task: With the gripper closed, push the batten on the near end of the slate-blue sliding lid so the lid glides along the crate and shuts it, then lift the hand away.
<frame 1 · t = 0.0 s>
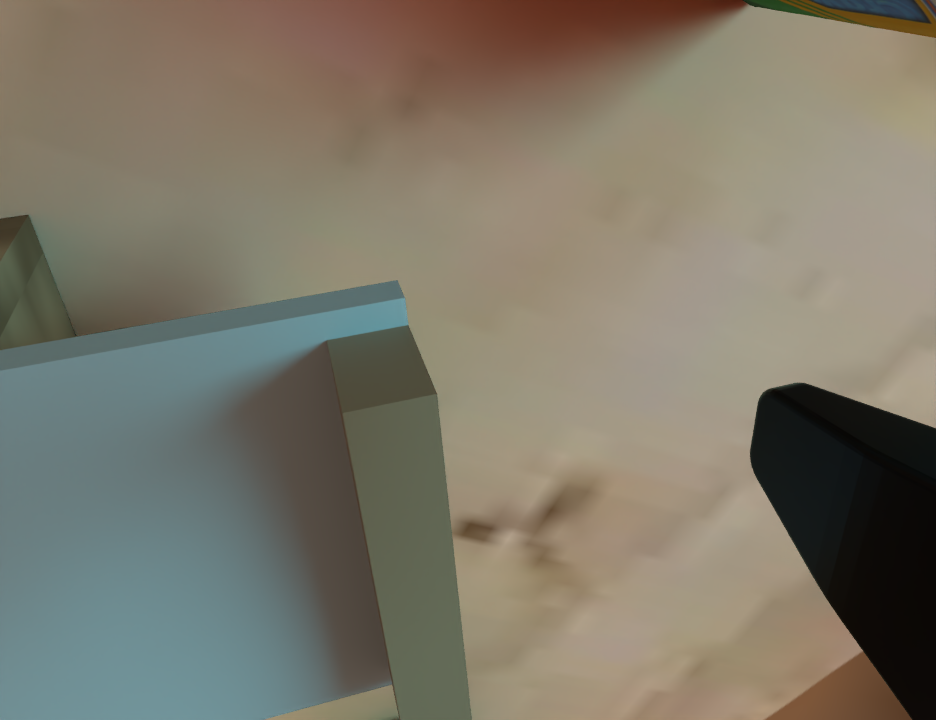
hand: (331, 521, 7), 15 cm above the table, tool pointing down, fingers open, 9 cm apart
lid: (106, 620, 16), point 8 cm above the table, slide at 8.0 cm
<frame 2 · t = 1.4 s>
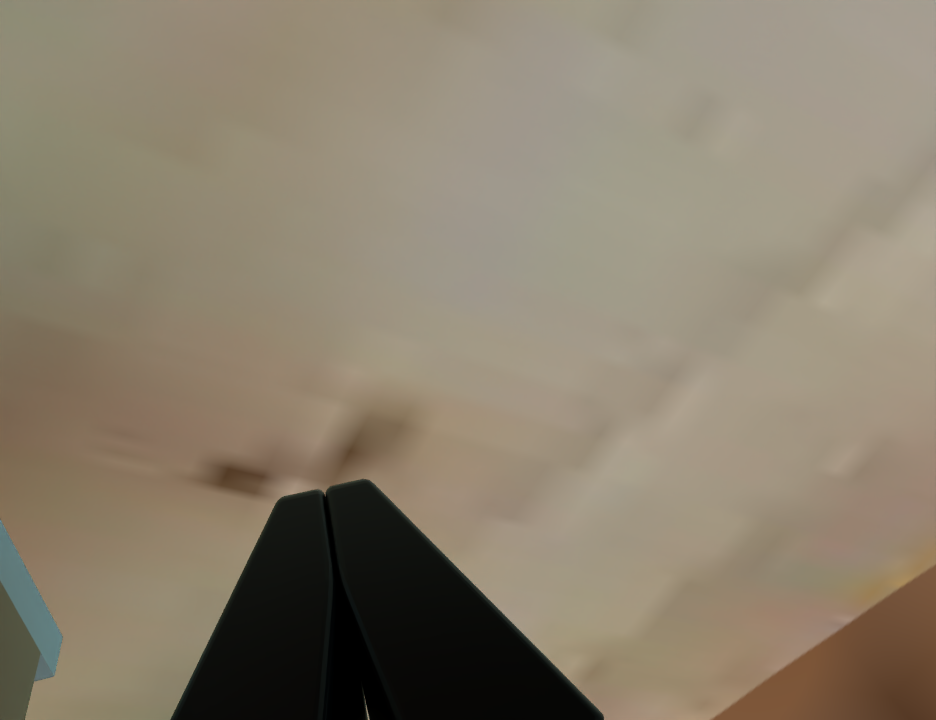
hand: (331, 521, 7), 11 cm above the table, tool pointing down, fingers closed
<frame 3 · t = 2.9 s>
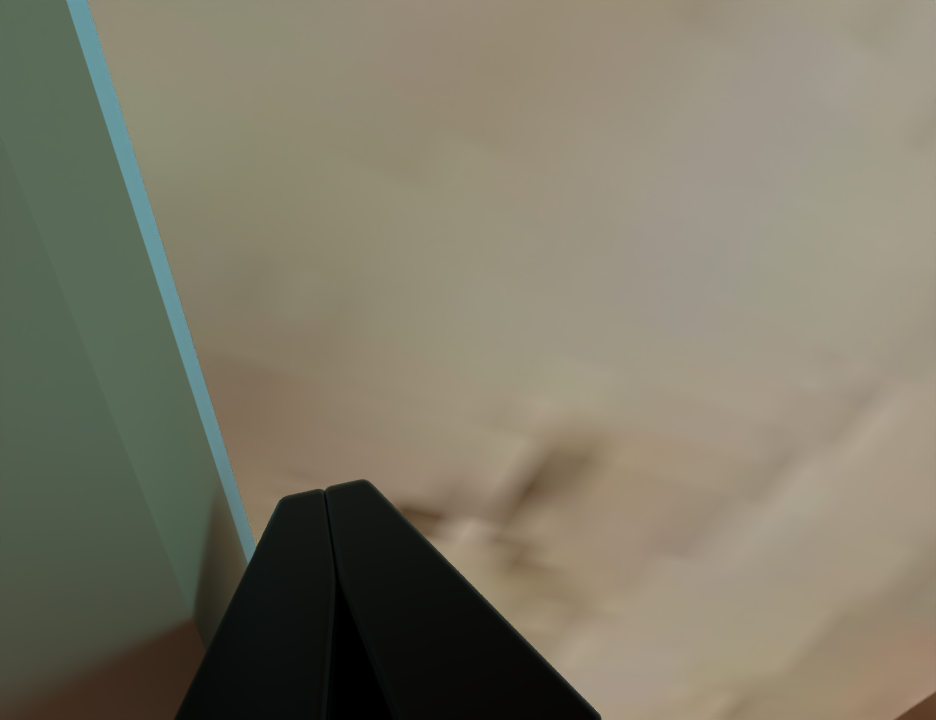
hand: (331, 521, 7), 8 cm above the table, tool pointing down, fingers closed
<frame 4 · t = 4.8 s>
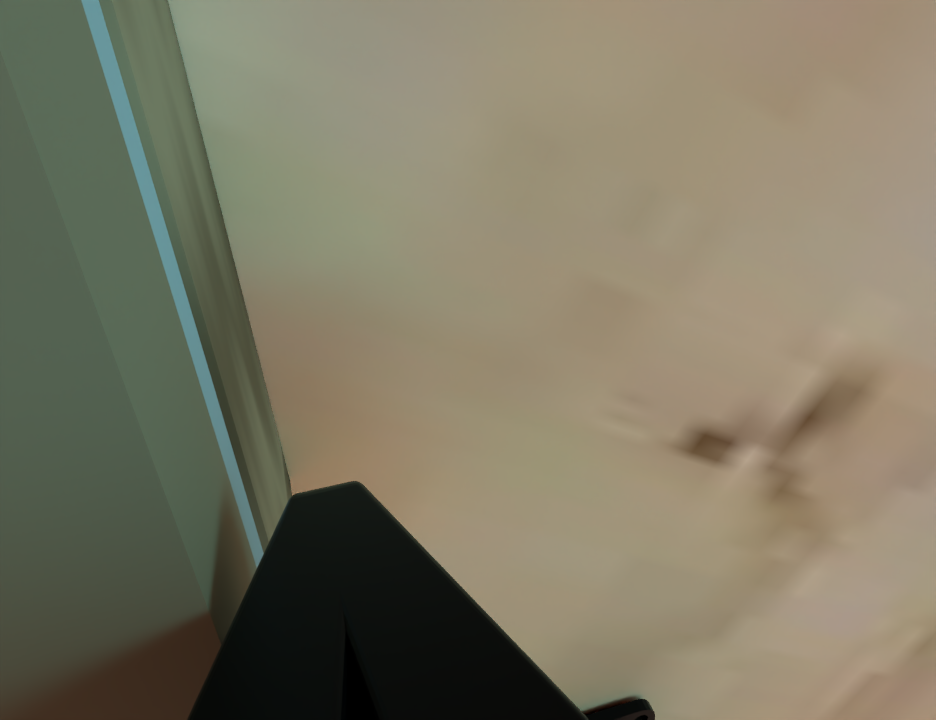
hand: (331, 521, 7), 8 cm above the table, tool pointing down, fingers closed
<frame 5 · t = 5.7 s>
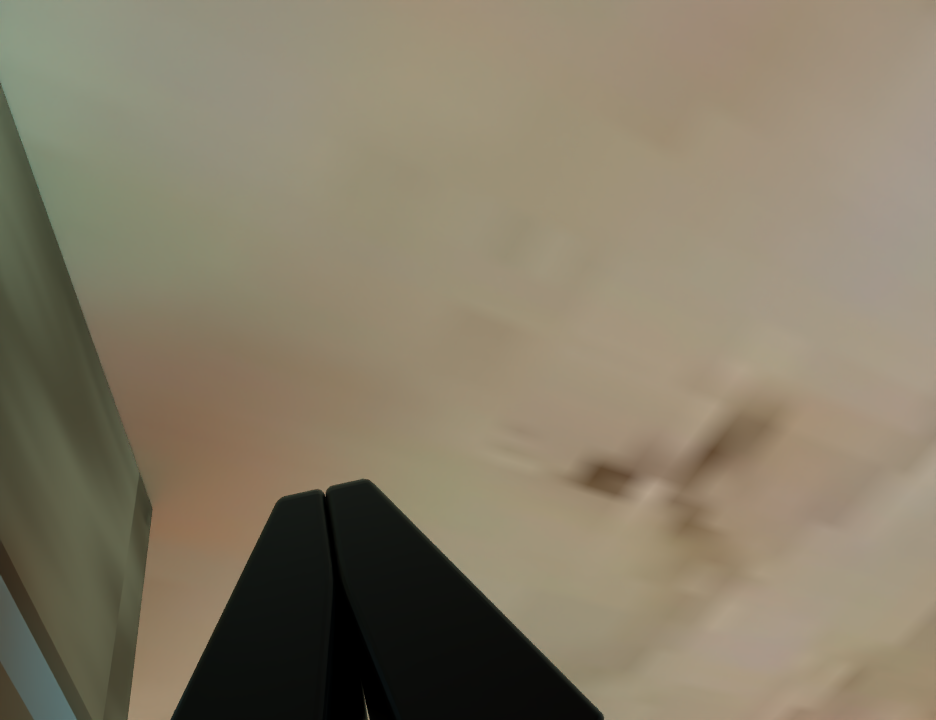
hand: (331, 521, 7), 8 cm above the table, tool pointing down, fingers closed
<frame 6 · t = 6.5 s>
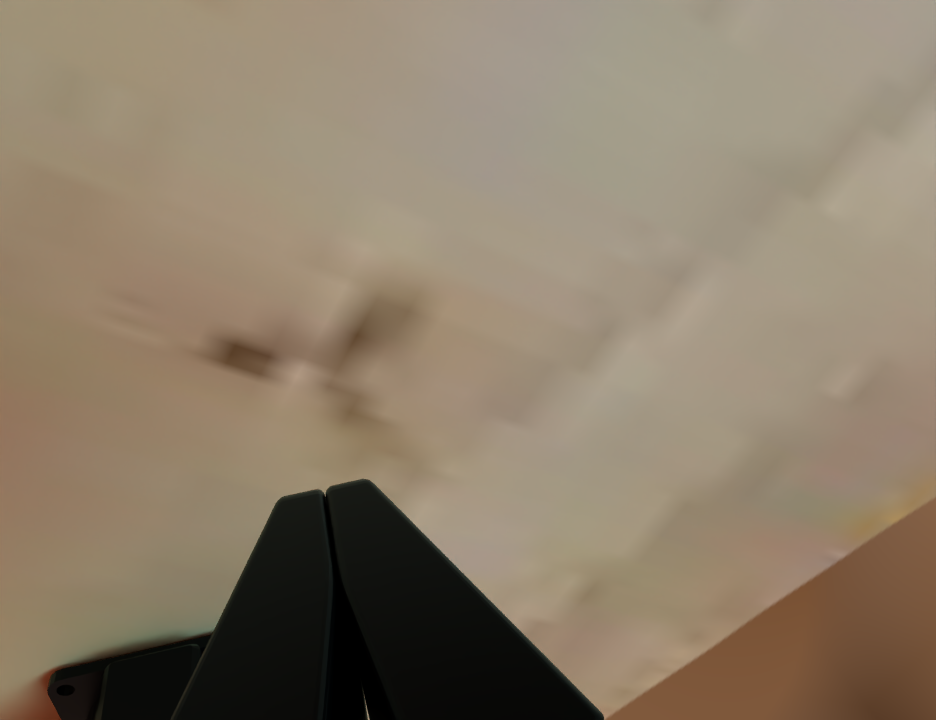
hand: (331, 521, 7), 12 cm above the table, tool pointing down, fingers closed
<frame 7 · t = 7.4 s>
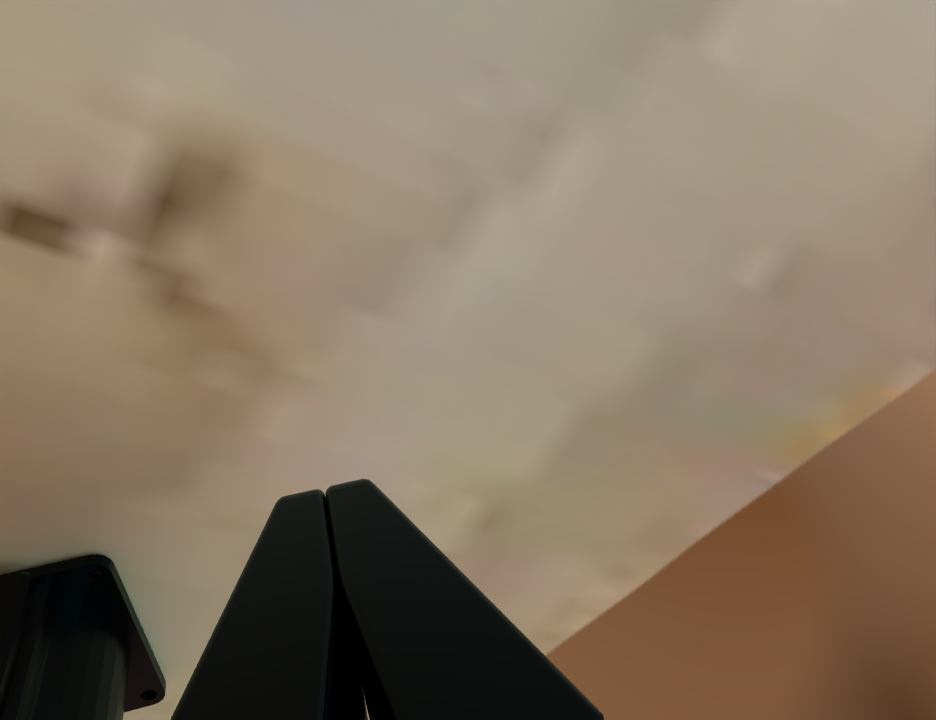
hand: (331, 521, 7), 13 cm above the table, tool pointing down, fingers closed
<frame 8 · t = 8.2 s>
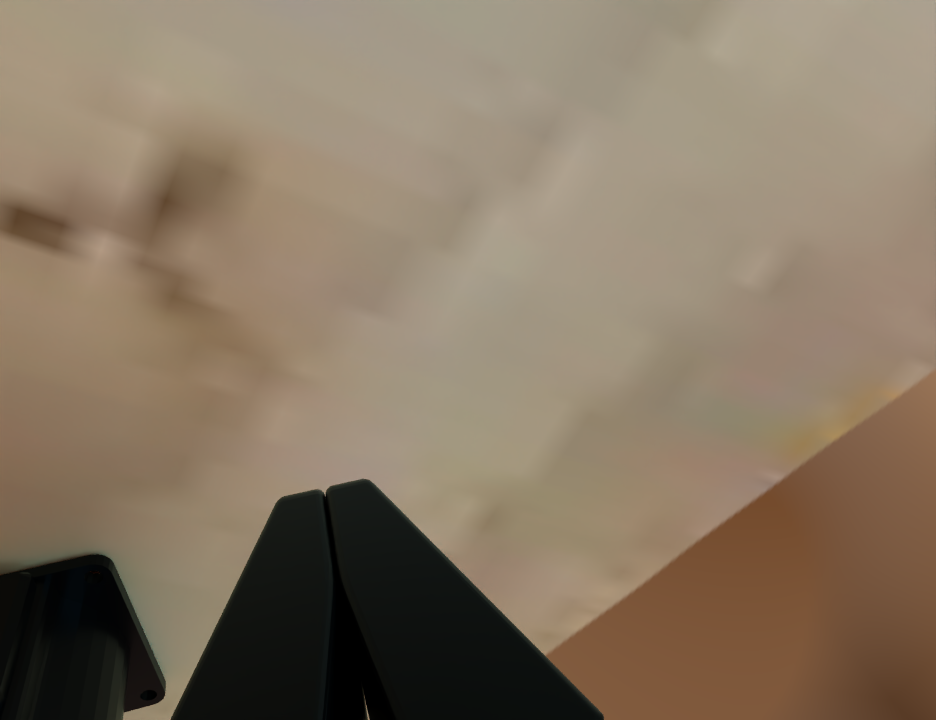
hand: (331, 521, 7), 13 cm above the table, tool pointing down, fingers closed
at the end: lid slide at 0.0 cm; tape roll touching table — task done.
